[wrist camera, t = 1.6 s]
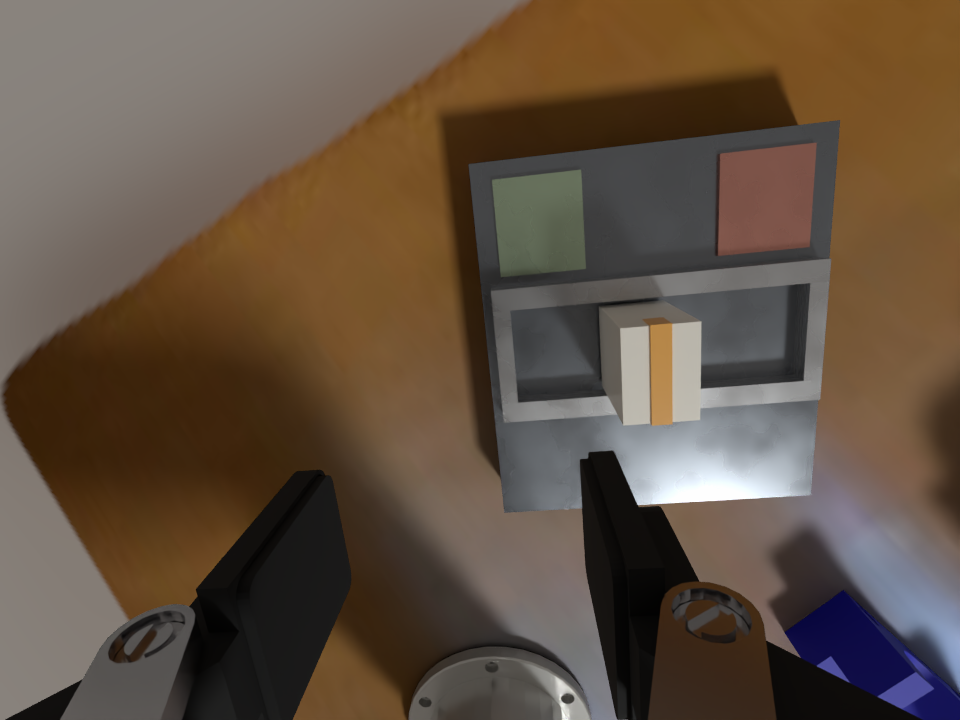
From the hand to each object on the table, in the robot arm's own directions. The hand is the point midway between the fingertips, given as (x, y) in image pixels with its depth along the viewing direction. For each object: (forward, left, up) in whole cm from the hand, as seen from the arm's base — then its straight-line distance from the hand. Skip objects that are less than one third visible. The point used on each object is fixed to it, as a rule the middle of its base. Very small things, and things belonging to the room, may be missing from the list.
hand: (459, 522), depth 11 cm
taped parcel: (0, -7, -14) cm, 16 cm away
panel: (0, -8, -18) cm, 19 cm away
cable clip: (-24, -22, -18) cm, 37 cm away
